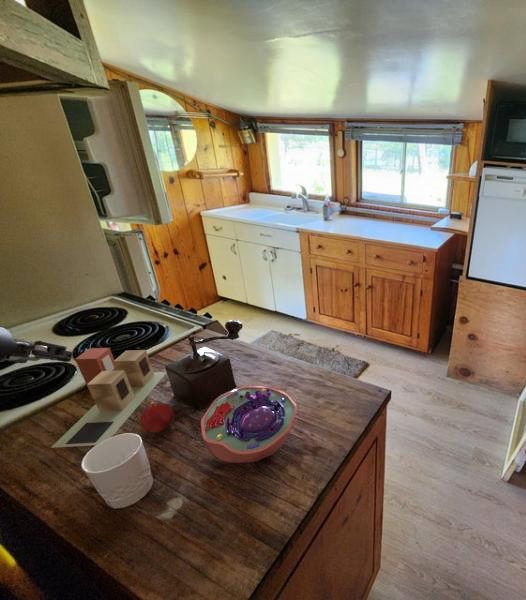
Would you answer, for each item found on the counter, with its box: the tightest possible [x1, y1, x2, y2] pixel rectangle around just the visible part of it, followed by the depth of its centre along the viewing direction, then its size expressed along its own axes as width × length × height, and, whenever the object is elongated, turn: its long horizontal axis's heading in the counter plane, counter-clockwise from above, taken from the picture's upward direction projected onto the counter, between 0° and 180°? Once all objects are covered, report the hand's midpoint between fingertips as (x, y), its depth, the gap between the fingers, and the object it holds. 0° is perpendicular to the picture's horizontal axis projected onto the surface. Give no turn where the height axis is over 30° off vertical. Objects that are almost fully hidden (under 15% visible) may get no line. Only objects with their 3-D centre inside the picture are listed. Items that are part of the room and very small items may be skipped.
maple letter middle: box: [86, 370, 135, 412], centre depth 75 cm, size 5×5×8 cm
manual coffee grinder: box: [164, 319, 243, 411], centre depth 81 cm, size 16×11×18 cm
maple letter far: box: [113, 349, 155, 387], centre depth 83 cm, size 5×5×8 cm
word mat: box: [50, 371, 167, 449], centre depth 77 cm, size 10×24×1 cm, turn 6°
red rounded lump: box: [139, 401, 175, 433], centre depth 69 cm, size 6×6×8 cm
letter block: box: [74, 347, 117, 385], centre depth 84 cm, size 5×5×8 cm
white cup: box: [80, 432, 155, 509], centre depth 57 cm, size 8×8×10 cm
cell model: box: [200, 385, 298, 464], centre depth 67 cm, size 17×20×11 cm
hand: (48, 357), depth 70 cm, fingers open, 8 cm apart
